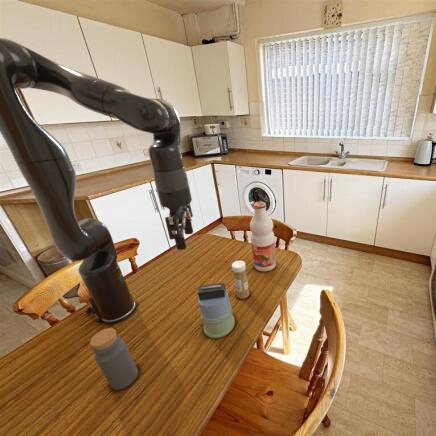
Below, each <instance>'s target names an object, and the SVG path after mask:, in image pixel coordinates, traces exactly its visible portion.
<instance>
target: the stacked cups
mask: <svg viewBox="0 0 436 436" xmlns="http://www.w3.org/2000/svg"><path fill="white" fill-rule="evenodd" d="M197 302H198V305H199V309H200V318H201V321H202V323H203V332H204V334H205V335H206V336H207V337H209V338H211V339H220V338H223V337H225V336H227V335H228V334H229V333H230V332H232V330H233V329H234V327H235V323H236V320H235V316H234V315H233V307H232V305H231V302H230V297H229V293H228V290H227V289H226V293H225V297H222V298H215V299H208V300H201V301H200V300H199V296H197Z"/></svg>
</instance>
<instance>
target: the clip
mask: <svg viewBox="0 0 436 436" xmlns="http://www.w3.org/2000/svg"><path fill="white" fill-rule="evenodd" d="M226 290H227V288H226V283H225V282H220V283H219V282H218V283H211V284H205V285H204V284H203V285H199V287H198V291H197V297H199V300H200V301H201V300H208V299H215V298H222V297H225V293H226Z"/></svg>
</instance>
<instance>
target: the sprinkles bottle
mask: <svg viewBox="0 0 436 436" xmlns="http://www.w3.org/2000/svg"><path fill="white" fill-rule="evenodd" d="M246 269H247V266H246V262H245V261H244V260H235V261H234V262H232V263H231V270H232V273H233V280H234V281H233V282H234V285H235V290H236V297H237V298H238V299H241V300H244V299H246V298H248V297H249V296H250V290H249V282H248V276H247V270H246Z"/></svg>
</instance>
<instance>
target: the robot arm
mask: <svg viewBox="0 0 436 436" xmlns="http://www.w3.org/2000/svg"><path fill="white" fill-rule="evenodd" d="M16 89H23V90H26V89H35V90H40V91H45V92H51V93H55V94H58V95H61V96H63V97H66V98H67V99H69V100H71V101H72V102H73V103H75V104H76V105H78V106H80V107H83V108H84V109H87V110H89V111H92V112H94V113H96V114H100V115H103V116H106V117H110V118H113V119H116V120H119V121H120V122H121V123H123V124H125V125H127V126H129V127H131V128H133V129H135V130H137V131H140V132H144V133H146V134H147V133H148V134H152V138H153V142H152V143H151V145H149V147H148V148H147V150H148V151H147V152H148V157H149V161H150V165H151V168H152V172H153V173H152V174H153V181H154V185H155V189H156V193H157V196H158V199H159V204H160V206H161V207H163V208H165V209H168V210H169V212H168V216H165V219H164V220H165V226H166V229H167V232H168V237H169V240H174V242H175V247H176V249H177V250H178V251H182V250H186V249H187V243H186V239H185V235H193V233H194V228H193V224H192V222H193V220H192V218H193V216H194V214H193V211H192V206H191V203H192V201H193V197H192V193H191V188H190V184H189V179H188V175H187V172H186V169H185V164H184V159H183V156H182V155H183V154H182V151H181V140H182V139H181V138H182V137H181V136H182V135H181V120H180V116H179V113H178V111H177V109H176V108H175V106H174V105H173V104H172V103H171V101H168V100H166V99H163V98H150V97H149V98H148V97H144V96H140V95H137V94H135V93H132V92H131V91H130V90H129V89H127V88H125V87H123V86H121V85H118V84H116V83H113V82H110V81H107V80H104V79H102V78H98V77H96V76H93V75H90V74H87V73H84V72H81V71H78V70H74V69H72V68H69V67H66V66H65V65H62V64H60V63H58V62H56V61H54V60H51V59H49V58H47V57H45V56H44V55H41V54H40V53H38V52H36V51H34V50H32V49H30V48H28V47H27V46H24V45H22V44H20V43H18V42H17V41H14V40H11V39H8V38H4V37H0V134H1V136H2V138H3V140H4V141H5V144H6V146H7V147H8V149H9V151H10V153H11V155H12V157H13V159H14V162H15V164H16V165H17V167H18V169H19V171H20V173H21V175H22V177H23V179H24V180H25V181H26V184H27V185H28V187H29V189H30V191H31V193H32V195H33V197H34V199H35V201H36V203H37V206H38V208H39V210H40V211H41V215H42V216H43V219H44V221H45V224H46V227H47V230H48V232H49V235H50V237H51V240H52V243H53V244H54V247H55V248H56V250H57V251H58V252H59V253H60V254H61V256H63V257H64V258H66V259H67V260H70V261H73V262H80V261H81V262H80V265H79V266H78V269H77V271H78V274H79V276H80V278H81V280H82V282H83V283H84V286H85V288H86V290H87V292H88V294H89V297H88V302H89V303H90V306H88V307H87V308H86V312H85V313H86V314H87V315H88V314H93V315H96V317H97V318H98V320H99V321H100V322H104V323H105V324H115V323H118V322H120V321H122V320H124V319H126V318H128V317H129V316H130V315H132V314H133V312H134V311H135V310H136V307H137V306H136V302H135V301H134V299H133V298H134V297H133V295H132V294H131V291H130V289H129V286H128V284H127V282H126V279H125V277H124V274H123V273H122V270H121V267H120V265H119V263H118V251H117V248H116V246H115V242H114V240H113V236H112V234H111V232H110V231H109V229H108V227H107V226H106V225H105V224H104V222H102V221H101V220H98V219H97V218H88V217H87V218H84V219H81V220H79V221H78V218H77V216H76V213H75V207H74V205H75V195H76V188H77V175H76V171H75V168H74V166H73V163H72V161H71V159H70V156H69V154H68V152H67V150H66V148H65V147H64V145H63V144H62V143H61V142H60V141H58V139H56V137H55V136H53V134H52V133H50V132H49V131H48V130H47V129H45V128H44V127H43V126H42V125H41V124H40V123H39V122H38V121H37V120H35V119H34V118H33V116H32V115H31V114H30V113H29V111H28V110H27V109H26V107H25V105H24V103H23V102H22V100H21V97H20V96H19V94H18V93H17V90H16Z"/></svg>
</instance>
